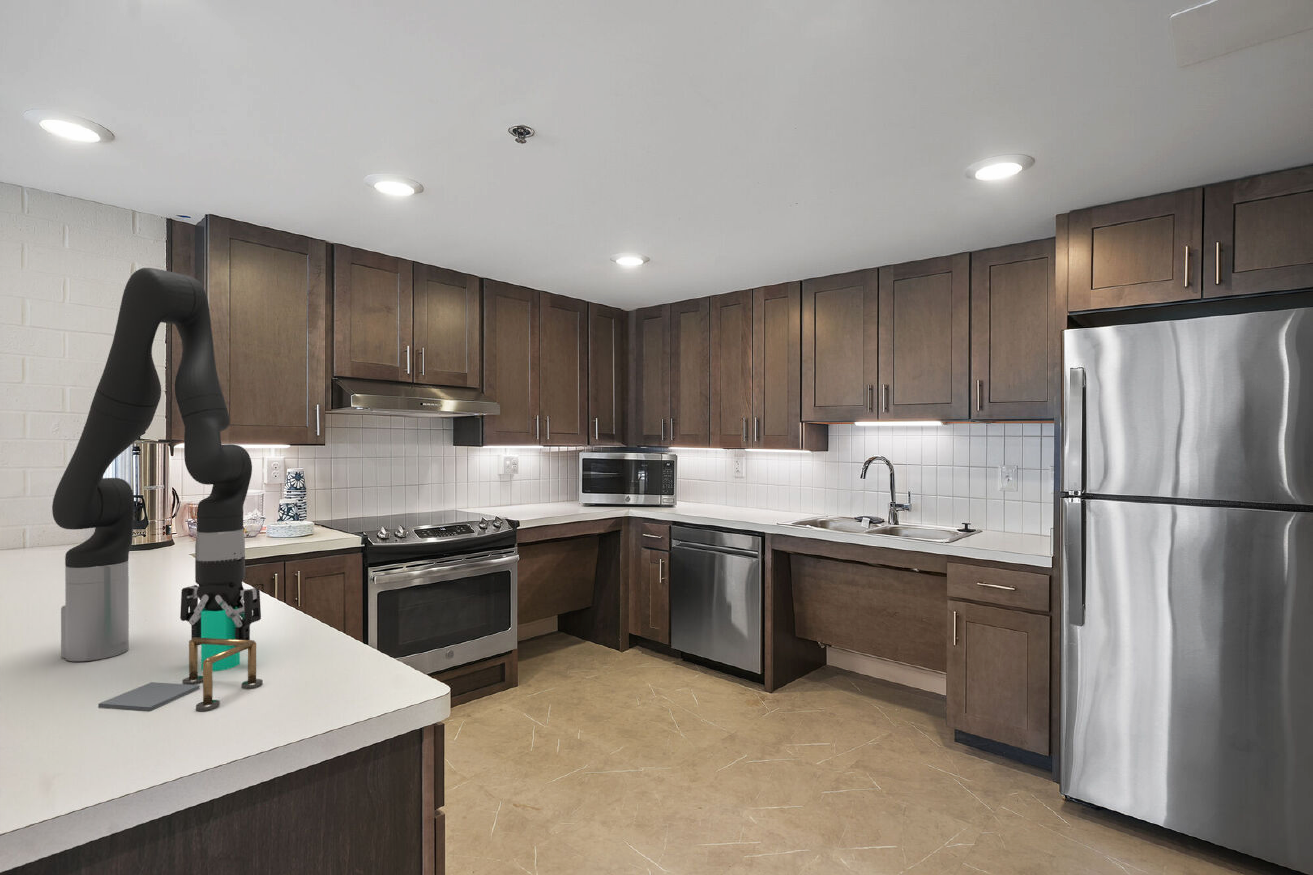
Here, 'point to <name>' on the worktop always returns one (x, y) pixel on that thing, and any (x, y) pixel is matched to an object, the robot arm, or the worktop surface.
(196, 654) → the handrail
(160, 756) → the worktop surface
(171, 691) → the coaster
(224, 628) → the candle
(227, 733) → the worktop surface
